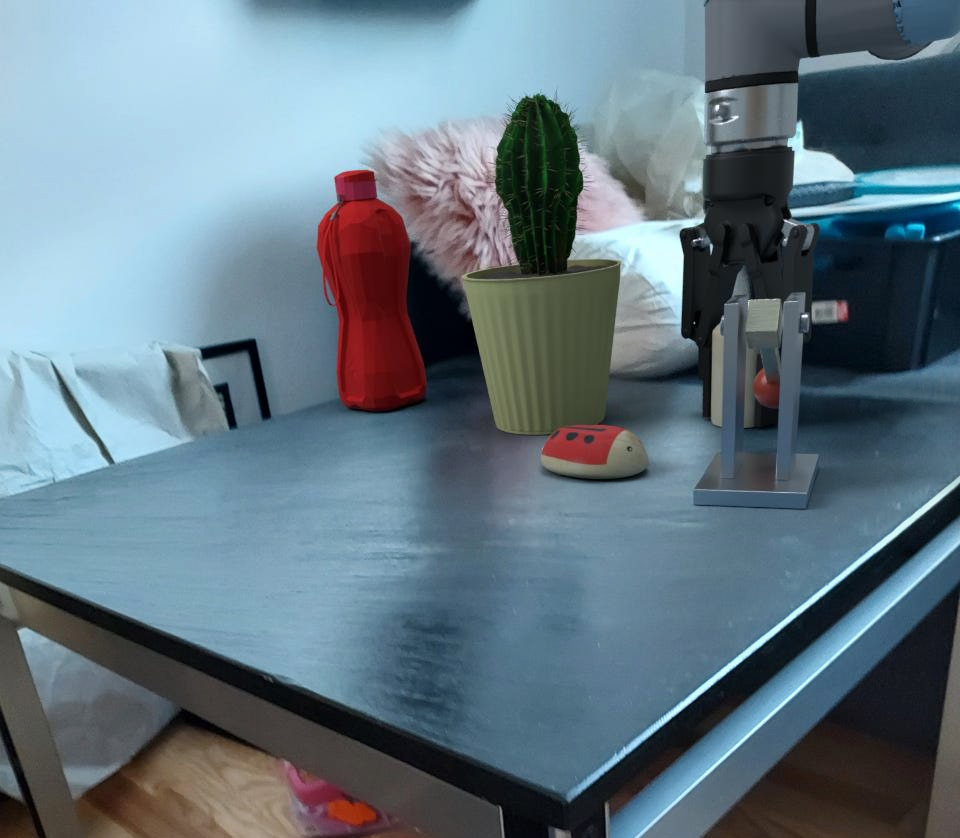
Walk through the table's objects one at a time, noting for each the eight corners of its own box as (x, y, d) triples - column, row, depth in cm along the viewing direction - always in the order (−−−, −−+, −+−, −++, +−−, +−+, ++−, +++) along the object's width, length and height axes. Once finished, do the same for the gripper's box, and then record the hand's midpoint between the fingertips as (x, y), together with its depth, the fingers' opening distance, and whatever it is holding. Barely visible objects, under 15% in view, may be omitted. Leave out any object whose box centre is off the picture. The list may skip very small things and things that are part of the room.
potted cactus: (465, 414, 104) (435, 101, 91) (601, 397, 106) (591, 87, 93) (488, 448, 90) (457, 86, 77) (644, 428, 92) (640, 69, 79)
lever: (753, 415, 80) (757, 374, 81) (797, 415, 79) (802, 373, 79) (733, 340, 67) (739, 292, 68) (786, 338, 66) (792, 289, 66)
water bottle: (318, 412, 112) (280, 177, 101) (387, 392, 119) (357, 170, 108) (370, 419, 106) (335, 171, 95) (439, 398, 113) (414, 164, 102)
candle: (700, 420, 93) (702, 313, 88) (751, 411, 94) (755, 305, 90) (728, 432, 88) (731, 319, 84) (781, 423, 89) (787, 311, 85)
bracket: (716, 466, 79) (720, 290, 73) (818, 468, 76) (830, 285, 70) (693, 504, 71) (694, 310, 65) (805, 509, 68) (818, 306, 62)
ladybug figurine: (630, 486, 76) (629, 442, 74) (523, 477, 81) (520, 436, 79) (662, 463, 81) (662, 421, 79) (558, 455, 86) (556, 416, 84)
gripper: (638, 158, 86) (642, 414, 96) (814, 140, 72) (797, 442, 82) (695, 152, 89) (693, 399, 100) (873, 134, 76) (849, 424, 86)
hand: (740, 418), depth 91 cm, fingers closed on candle, 6 cm apart
